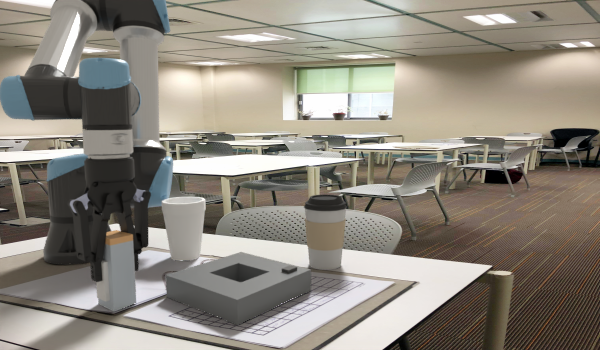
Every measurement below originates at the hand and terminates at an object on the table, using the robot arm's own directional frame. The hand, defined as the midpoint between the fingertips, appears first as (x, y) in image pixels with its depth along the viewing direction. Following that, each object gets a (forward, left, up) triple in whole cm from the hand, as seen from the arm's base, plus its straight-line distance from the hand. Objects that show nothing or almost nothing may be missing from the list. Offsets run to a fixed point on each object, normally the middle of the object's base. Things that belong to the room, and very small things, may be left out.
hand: (116, 294), depth 79 cm
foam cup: (-13, +24, -2) cm, 27 cm away
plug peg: (0, 0, -2) cm, 2 cm away
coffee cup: (+15, +39, -2) cm, 42 cm away
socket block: (+13, +16, -2) cm, 21 cm away
